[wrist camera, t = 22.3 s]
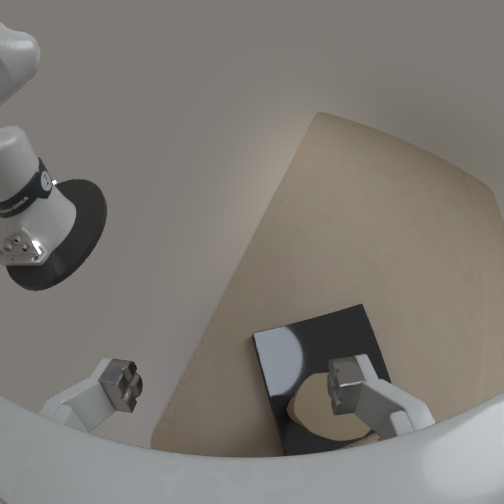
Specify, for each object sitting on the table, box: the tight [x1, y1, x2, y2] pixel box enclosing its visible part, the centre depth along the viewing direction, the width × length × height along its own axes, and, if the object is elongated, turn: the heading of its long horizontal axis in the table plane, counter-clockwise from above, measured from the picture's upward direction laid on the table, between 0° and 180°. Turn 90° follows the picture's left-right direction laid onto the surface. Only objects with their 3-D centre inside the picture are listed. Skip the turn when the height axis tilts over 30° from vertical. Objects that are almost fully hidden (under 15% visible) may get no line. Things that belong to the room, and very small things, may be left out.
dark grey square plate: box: [253, 304, 391, 456], centre depth 31 cm, size 16×18×1 cm
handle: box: [286, 373, 371, 441], centre depth 22 cm, size 5×6×15 cm
